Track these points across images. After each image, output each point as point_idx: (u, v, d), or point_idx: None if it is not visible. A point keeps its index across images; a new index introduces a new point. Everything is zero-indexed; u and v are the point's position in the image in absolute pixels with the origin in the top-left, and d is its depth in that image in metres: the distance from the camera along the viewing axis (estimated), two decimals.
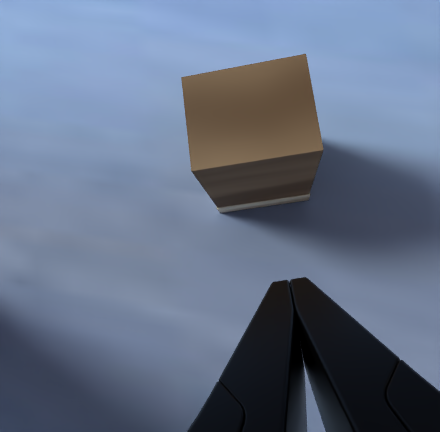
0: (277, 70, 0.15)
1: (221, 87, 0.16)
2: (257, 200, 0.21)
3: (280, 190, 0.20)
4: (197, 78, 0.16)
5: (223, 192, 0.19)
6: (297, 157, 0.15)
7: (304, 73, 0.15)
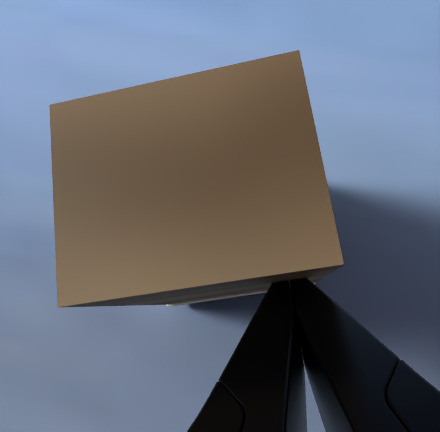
0: (239, 87, 0.07)
1: (126, 124, 0.08)
2: (229, 295, 0.13)
3: (264, 288, 0.11)
4: (81, 105, 0.08)
5: (162, 301, 0.11)
6: (286, 274, 0.07)
7: (297, 91, 0.07)
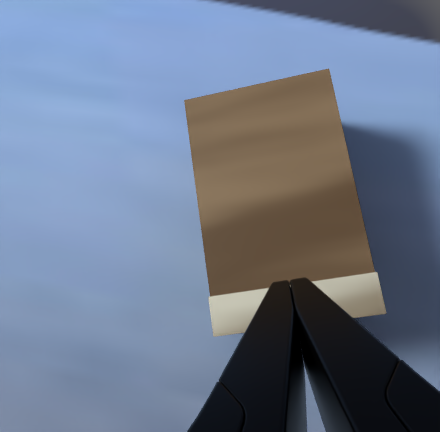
0: None
1: None
2: (279, 273, 0.12)
3: (310, 224, 0.12)
4: None
5: (220, 202, 0.13)
6: (303, 85, 0.13)
7: None
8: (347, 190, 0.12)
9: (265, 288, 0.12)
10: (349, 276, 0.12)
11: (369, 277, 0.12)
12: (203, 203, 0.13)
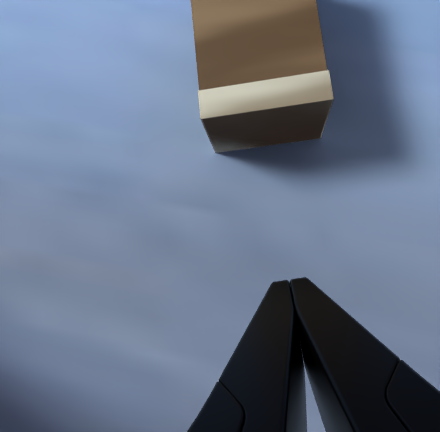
0: None
1: None
2: (254, 73, 0.15)
3: (281, 37, 0.16)
4: None
5: (210, 22, 0.16)
6: None
7: None
8: (311, 12, 0.16)
9: (242, 83, 0.15)
10: (307, 73, 0.15)
11: (322, 74, 0.15)
12: (197, 23, 0.16)
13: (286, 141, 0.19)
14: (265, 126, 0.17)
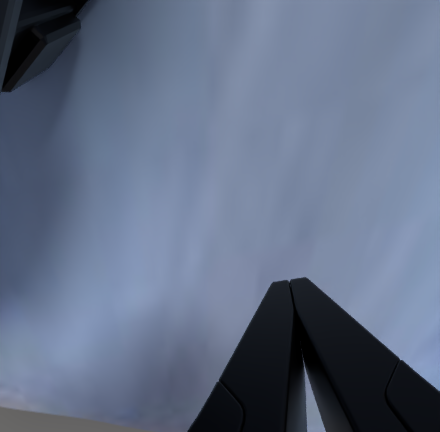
0: None
1: None
2: None
3: None
4: None
5: None
6: None
7: None
8: None
9: None
10: None
11: None
12: None
13: None
14: None
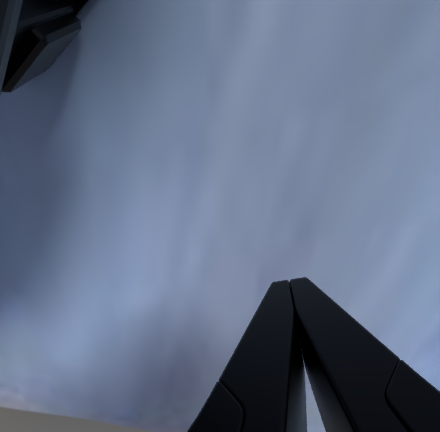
0: None
1: None
2: None
3: None
4: None
5: None
6: None
7: None
8: None
9: None
10: None
11: None
12: None
13: None
14: None
